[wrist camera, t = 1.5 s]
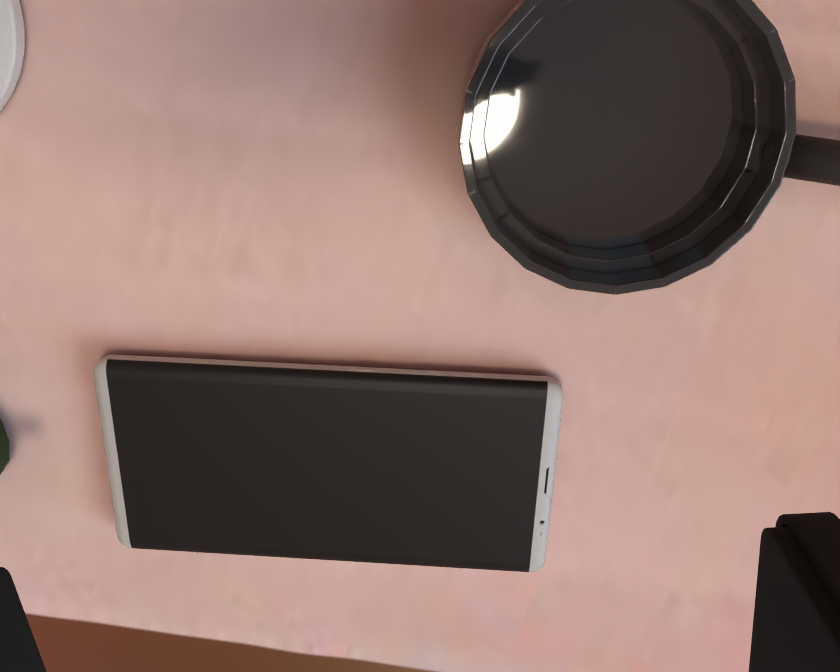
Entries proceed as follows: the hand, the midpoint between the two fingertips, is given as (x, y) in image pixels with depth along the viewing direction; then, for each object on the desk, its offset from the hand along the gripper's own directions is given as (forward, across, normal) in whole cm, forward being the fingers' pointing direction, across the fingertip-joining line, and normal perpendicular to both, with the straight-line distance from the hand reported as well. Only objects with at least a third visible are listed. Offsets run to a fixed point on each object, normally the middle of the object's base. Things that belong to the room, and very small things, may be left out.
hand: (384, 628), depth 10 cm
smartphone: (+34, +8, +18) cm, 40 cm away
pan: (+34, -9, 0) cm, 35 cm away
